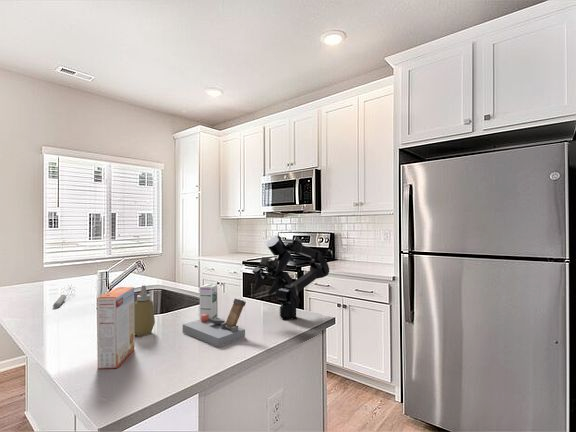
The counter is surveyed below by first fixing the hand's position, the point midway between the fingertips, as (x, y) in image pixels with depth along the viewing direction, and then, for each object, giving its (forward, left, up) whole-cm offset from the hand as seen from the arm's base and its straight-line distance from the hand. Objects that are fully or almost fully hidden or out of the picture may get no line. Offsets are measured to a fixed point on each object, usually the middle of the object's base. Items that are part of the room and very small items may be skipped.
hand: (261, 292), depth 134 cm
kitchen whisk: (+92, -63, -14) cm, 113 cm away
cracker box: (+48, +20, -14) cm, 54 cm away
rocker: (+18, +3, -10) cm, 21 cm away
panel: (+19, +5, -14) cm, 24 cm away
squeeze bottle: (+44, -2, -14) cm, 47 cm away
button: (+22, -3, -11) cm, 24 cm away
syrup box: (+20, -15, -14) cm, 29 cm away
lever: (+13, +10, -10) cm, 19 cm away
